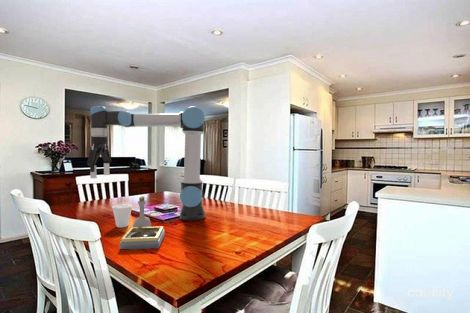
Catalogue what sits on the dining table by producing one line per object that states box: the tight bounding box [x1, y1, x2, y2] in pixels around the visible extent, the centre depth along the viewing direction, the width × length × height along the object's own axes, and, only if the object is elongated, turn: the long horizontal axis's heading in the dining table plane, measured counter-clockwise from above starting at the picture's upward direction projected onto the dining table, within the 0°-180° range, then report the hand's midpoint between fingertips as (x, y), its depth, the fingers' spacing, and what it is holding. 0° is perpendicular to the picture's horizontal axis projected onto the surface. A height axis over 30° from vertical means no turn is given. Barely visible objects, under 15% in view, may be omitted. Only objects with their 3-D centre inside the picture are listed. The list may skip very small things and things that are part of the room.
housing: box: [119, 226, 166, 250], centre depth 118 cm, size 16×16×4 cm
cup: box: [111, 203, 133, 229], centre depth 141 cm, size 10×10×11 cm
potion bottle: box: [132, 195, 152, 228], centre depth 131 cm, size 9×9×18 cm
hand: (100, 176), depth 138 cm, fingers open, 13 cm apart
